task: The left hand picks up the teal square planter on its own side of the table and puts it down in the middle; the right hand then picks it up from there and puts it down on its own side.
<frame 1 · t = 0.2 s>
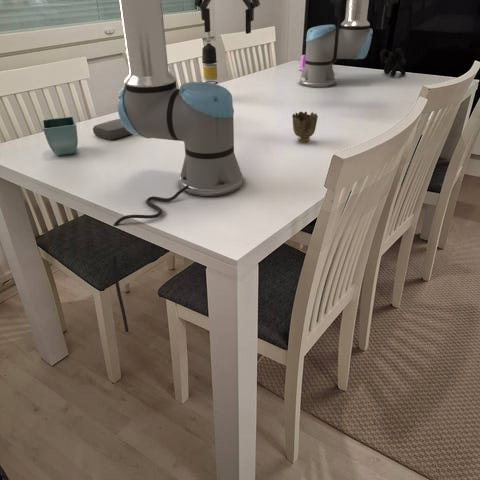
left hand: (227, 32, 138), 28 cm above the table, tool pointing down, fingers open, 13 cm apart
right hand: (360, 28, 140), 28 cm above the table, tool pointing down, fingers open, 13 cm apart
bracket: (311, 68, 225), on the table
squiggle: (393, 75, 209), on the table
cup: (303, 141, 135), on the table
teal square planter: (65, 152, 131), on the table
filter: (211, 98, 179), on the table
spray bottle: (132, 128, 148), on the table
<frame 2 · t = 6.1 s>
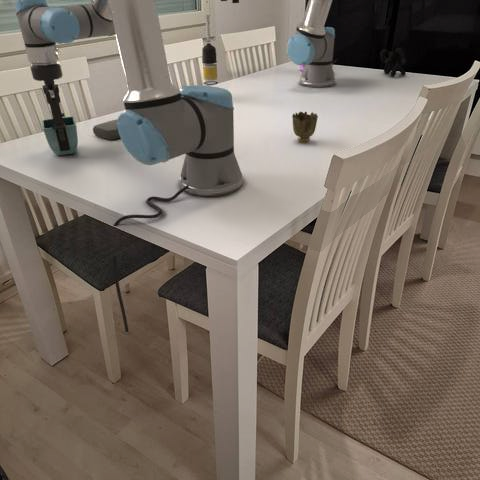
left hand: (64, 145, 129), 2 cm above the table, tool pointing down, fingers closed on teal square planter, 9 cm apart
right hand: (229, 2, 189), 32 cm above the table, tool pointing down, fingers open, 13 cm apart
teal square planter: (65, 152, 131), on the table, touching left hand
everything else where it was.
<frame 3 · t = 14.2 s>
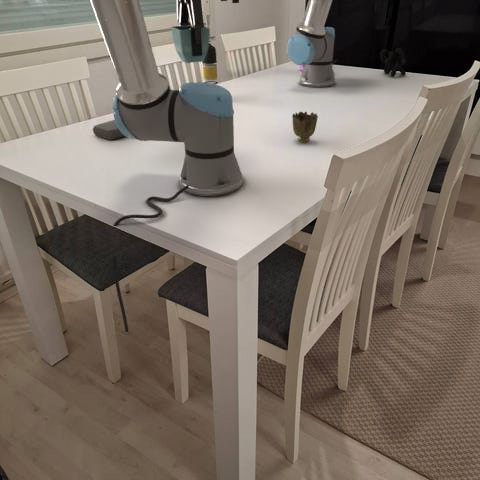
left hand: (191, 53, 127), 25 cm above the table, tool pointing down, fingers closed on teal square planter, 9 cm apart
right hand: (229, 2, 189), 32 cm above the table, tool pointing down, fingers open, 13 cm apart
teal square planter: (192, 61, 128), point 22 cm above the table, touching left hand
everything else where it was.
when the left hand's fingers open (3 cm above the table, at t = 22.4 s): teal square planter drops 1 cm, on the table.
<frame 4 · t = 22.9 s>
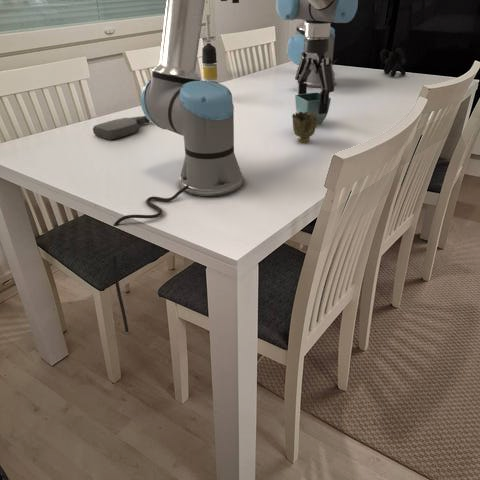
left hand: (311, 108, 147), 5 cm above the table, tool pointing down, fingers open, 13 cm apart
right hand: (229, 2, 189), 32 cm above the table, tool pointing down, fingers open, 13 cm apart
teal square planter: (311, 123, 150), on the table
everything else where it was.
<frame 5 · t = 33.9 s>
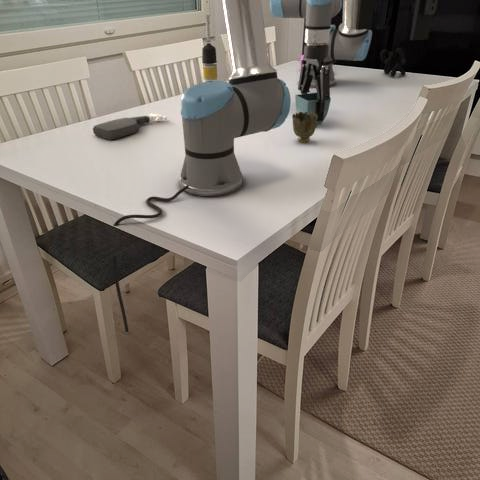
left hand: (388, 34, 71), 36 cm above the table, tool pointing down, fingers open, 13 cm apart
right hand: (311, 116, 148), 2 cm above the table, tool pointing down, fingers closed on teal square planter, 9 cm apart
teal square planter: (311, 123, 150), on the table, touching right hand
everything else where it was.
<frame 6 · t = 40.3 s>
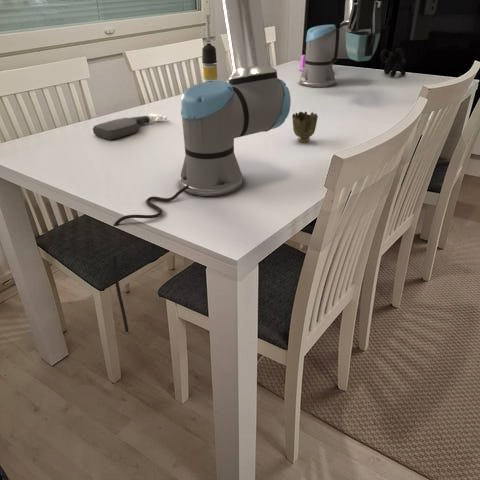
left hand: (388, 34, 71), 36 cm above the table, tool pointing down, fingers open, 13 cm apart
right hand: (360, 53, 160), 18 cm above the table, tool pointing down, fingers closed on teal square planter, 9 cm apart
teal square planter: (359, 60, 161), point 16 cm above the table, touching right hand
everything else where it was.
when the right hand's fingers open (3 cm above the table, at t = 46.8 s): teal square planter drops 1 cm, on the table.
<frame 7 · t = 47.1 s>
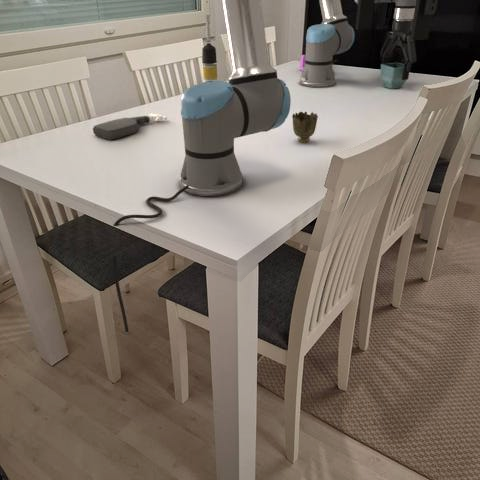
left hand: (388, 34, 71), 36 cm above the table, tool pointing down, fingers open, 13 cm apart
right hand: (394, 76, 187), 4 cm above the table, tool pointing down, fingers open, 12 cm apart
teal square planter: (392, 87, 190), on the table
everything else where it was.
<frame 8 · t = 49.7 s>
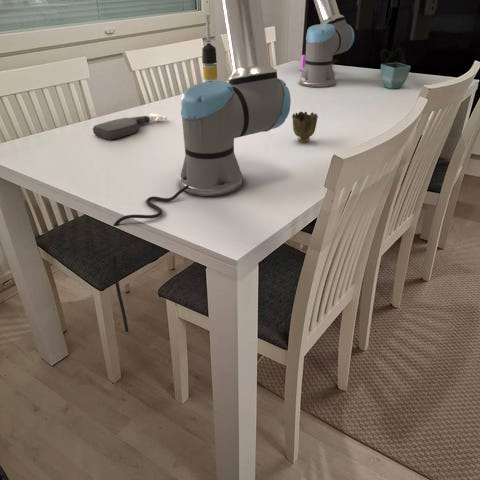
left hand: (388, 34, 71), 36 cm above the table, tool pointing down, fingers open, 13 cm apart
right hand: (405, 8, 174), 30 cm above the table, tool pointing down, fingers open, 13 cm apart
nothing on the table moved.
at the end: teal square planter inside the target area (0.1 cm from its centre), on the table; teal square planter tilted 0°; the two hands never held the teal square planter at the same time; the left hand is holding nothing; the right hand is holding nothing; teal square planter at rest at the end (0.0 cm/s) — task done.
